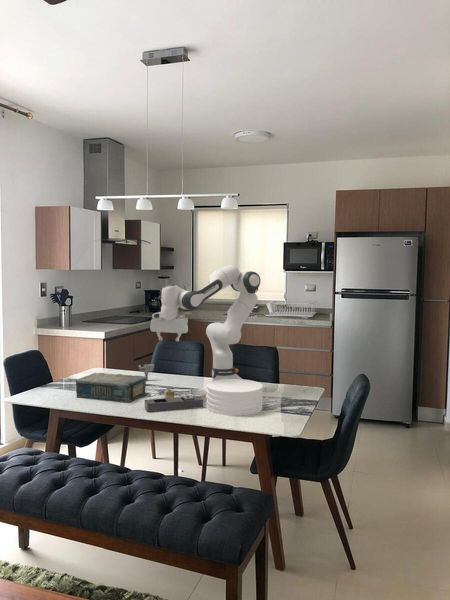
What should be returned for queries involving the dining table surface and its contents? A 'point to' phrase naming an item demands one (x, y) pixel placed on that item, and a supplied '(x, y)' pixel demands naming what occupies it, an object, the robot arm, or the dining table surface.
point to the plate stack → (234, 397)
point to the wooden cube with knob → (169, 393)
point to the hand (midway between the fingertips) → (168, 340)
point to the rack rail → (172, 404)
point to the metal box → (111, 387)
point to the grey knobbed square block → (187, 398)
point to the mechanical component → (146, 369)
